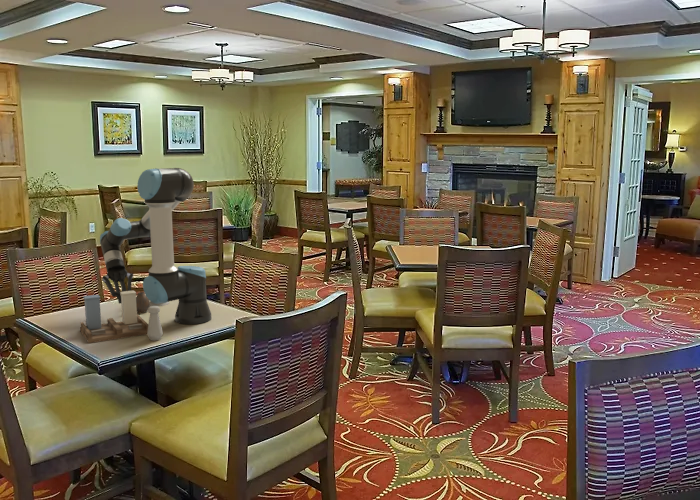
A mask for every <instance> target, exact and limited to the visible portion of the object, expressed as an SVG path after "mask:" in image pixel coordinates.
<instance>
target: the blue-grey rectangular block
mask: <svg viewBox="0 0 700 500" xmlns="http://www.w3.org/2000/svg"><path fill="white" fill-rule="evenodd" d="M83 300H84V312H85V313H84V314H85V325H86V327H87V328H88V330H91V329H98V328H101V324H102V319H101V318H102V316H101V296H100V295H99V294H92V295H83Z"/></svg>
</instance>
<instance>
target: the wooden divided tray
mask: <svg viewBox="0 0 700 500" xmlns="http://www.w3.org/2000/svg"><path fill="white" fill-rule="evenodd" d="M106 322H107V323H101V328H98V329H91V330H88V328H87V327H86V323H85V322H83V321H81V322H80V332H81V334H82V335H83V337H84V338H85V340H86V342H87V343H88V344H92V343H98V342H105V341H113V340H117V339H124V338H130V337H137V336H142V335H143V336H144V335H147V331H148V325H149V323H148V322H147V321H145V320H144V319H143V318H142V317H141V316H140V315H139V314H137V323H132V324H124V323H123V321H116V320H115V319H114V318H113V317H110V318H107V320H106Z"/></svg>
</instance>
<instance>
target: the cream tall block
mask: <svg viewBox="0 0 700 500" xmlns="http://www.w3.org/2000/svg"><path fill="white" fill-rule="evenodd" d="M120 294H121V303H120V304H121V315H122V316H121V317H122V319H121V320H122V321H123V323H124V324H132V323H137V315H138V312H137V307H136V296H137V292H136V291H135V290H131V291H128V290H126V291H124V292H122V291H120Z"/></svg>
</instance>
